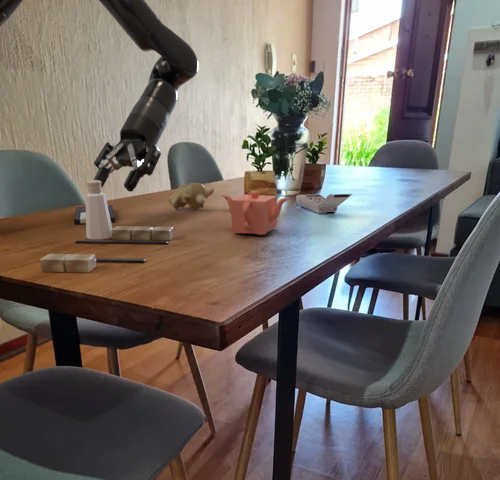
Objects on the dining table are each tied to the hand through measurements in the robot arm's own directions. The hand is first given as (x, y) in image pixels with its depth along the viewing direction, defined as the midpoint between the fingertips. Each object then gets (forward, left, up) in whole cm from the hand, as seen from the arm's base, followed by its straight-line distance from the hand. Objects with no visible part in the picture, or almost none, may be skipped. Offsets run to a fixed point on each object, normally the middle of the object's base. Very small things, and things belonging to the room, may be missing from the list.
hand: (111, 187), depth 103 cm
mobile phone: (+44, +31, -9) cm, 55 cm away
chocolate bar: (-11, +19, -9) cm, 24 cm away
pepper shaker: (-2, -4, -9) cm, 11 cm away
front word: (+4, -25, -9) cm, 27 cm away
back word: (+4, -6, -9) cm, 12 cm away
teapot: (+29, +3, -9) cm, 30 cm away
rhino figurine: (+11, +30, -9) cm, 33 cm away
